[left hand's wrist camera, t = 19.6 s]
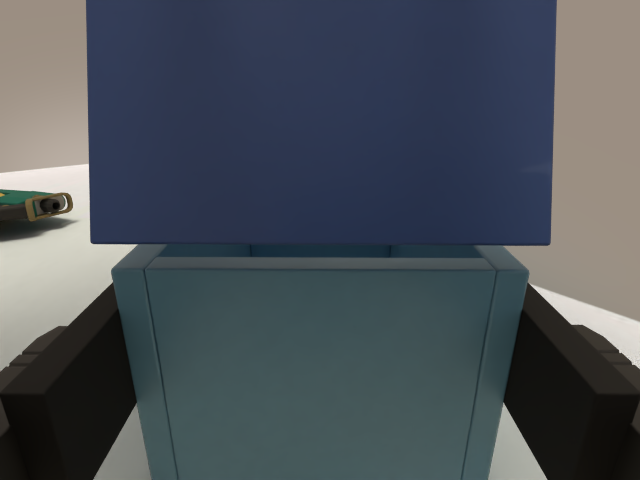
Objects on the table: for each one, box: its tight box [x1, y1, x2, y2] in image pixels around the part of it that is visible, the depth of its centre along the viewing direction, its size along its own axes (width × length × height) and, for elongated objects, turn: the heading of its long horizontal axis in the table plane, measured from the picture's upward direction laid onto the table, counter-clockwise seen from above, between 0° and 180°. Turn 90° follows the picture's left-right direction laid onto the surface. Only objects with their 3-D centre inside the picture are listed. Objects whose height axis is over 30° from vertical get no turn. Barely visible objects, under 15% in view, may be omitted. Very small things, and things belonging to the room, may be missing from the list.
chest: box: [111, 244, 529, 480], centre depth 17 cm, size 14×9×9 cm, turn 0°
